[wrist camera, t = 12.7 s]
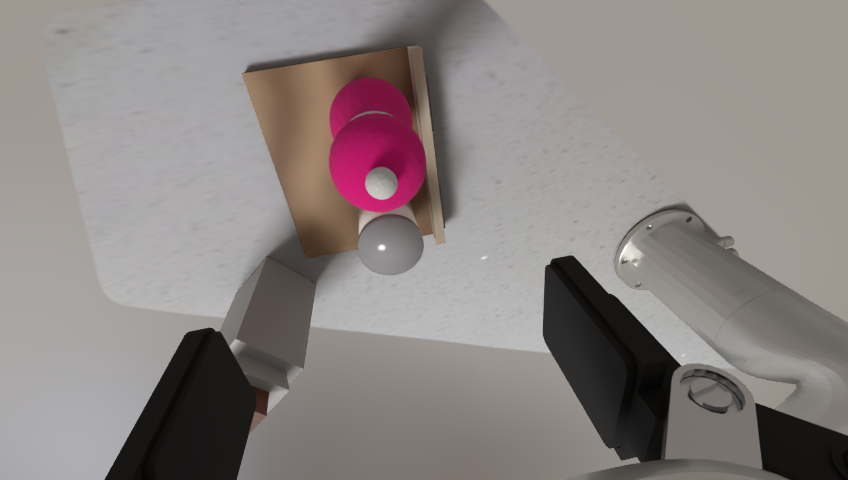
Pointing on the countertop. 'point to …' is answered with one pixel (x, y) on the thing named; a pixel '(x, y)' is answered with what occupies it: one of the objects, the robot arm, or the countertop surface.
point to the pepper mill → (375, 146)
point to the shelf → (311, 140)
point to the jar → (389, 240)
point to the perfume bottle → (270, 331)
